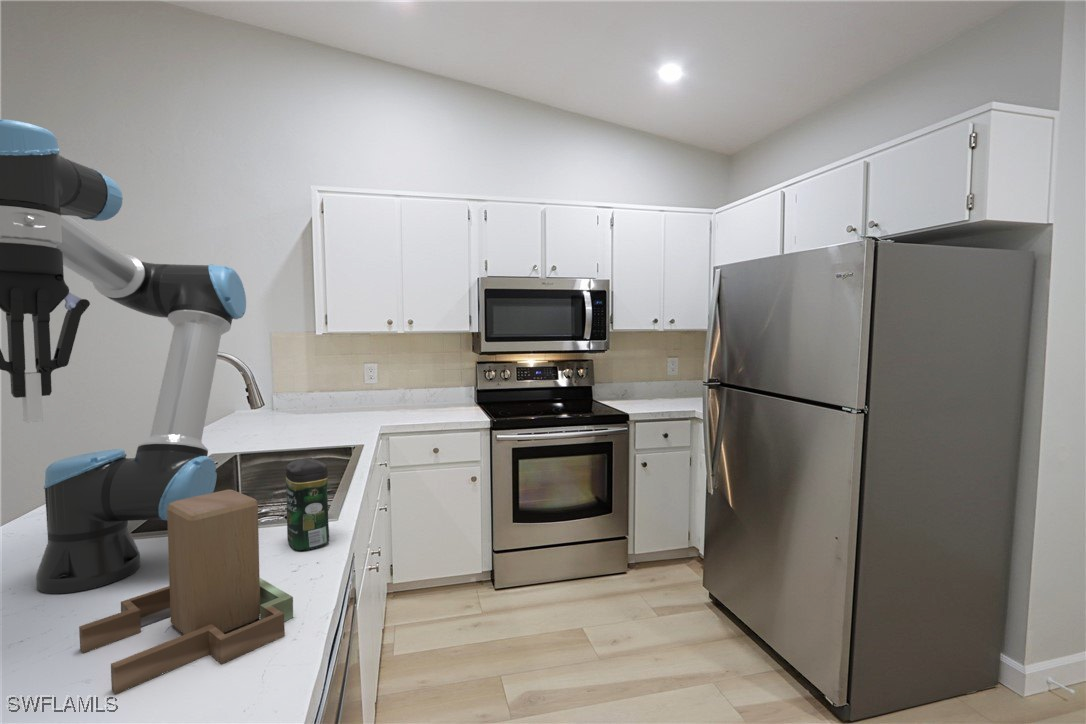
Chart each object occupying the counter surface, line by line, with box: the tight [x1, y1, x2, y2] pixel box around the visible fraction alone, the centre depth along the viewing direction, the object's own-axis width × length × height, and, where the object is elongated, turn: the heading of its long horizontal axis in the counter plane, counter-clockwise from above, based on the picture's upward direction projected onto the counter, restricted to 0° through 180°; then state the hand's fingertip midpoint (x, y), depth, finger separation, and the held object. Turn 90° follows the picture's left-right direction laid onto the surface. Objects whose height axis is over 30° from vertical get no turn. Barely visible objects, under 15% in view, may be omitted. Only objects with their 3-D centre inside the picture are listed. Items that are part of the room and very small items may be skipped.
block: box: [166, 489, 261, 635], centre depth 86 cm, size 10×10×20 cm
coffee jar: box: [285, 457, 330, 551], centre depth 118 cm, size 10×8×19 cm
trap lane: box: [78, 577, 294, 695], centre depth 83 cm, size 24×24×4 cm
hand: (33, 420), depth 73 cm, fingers closed
